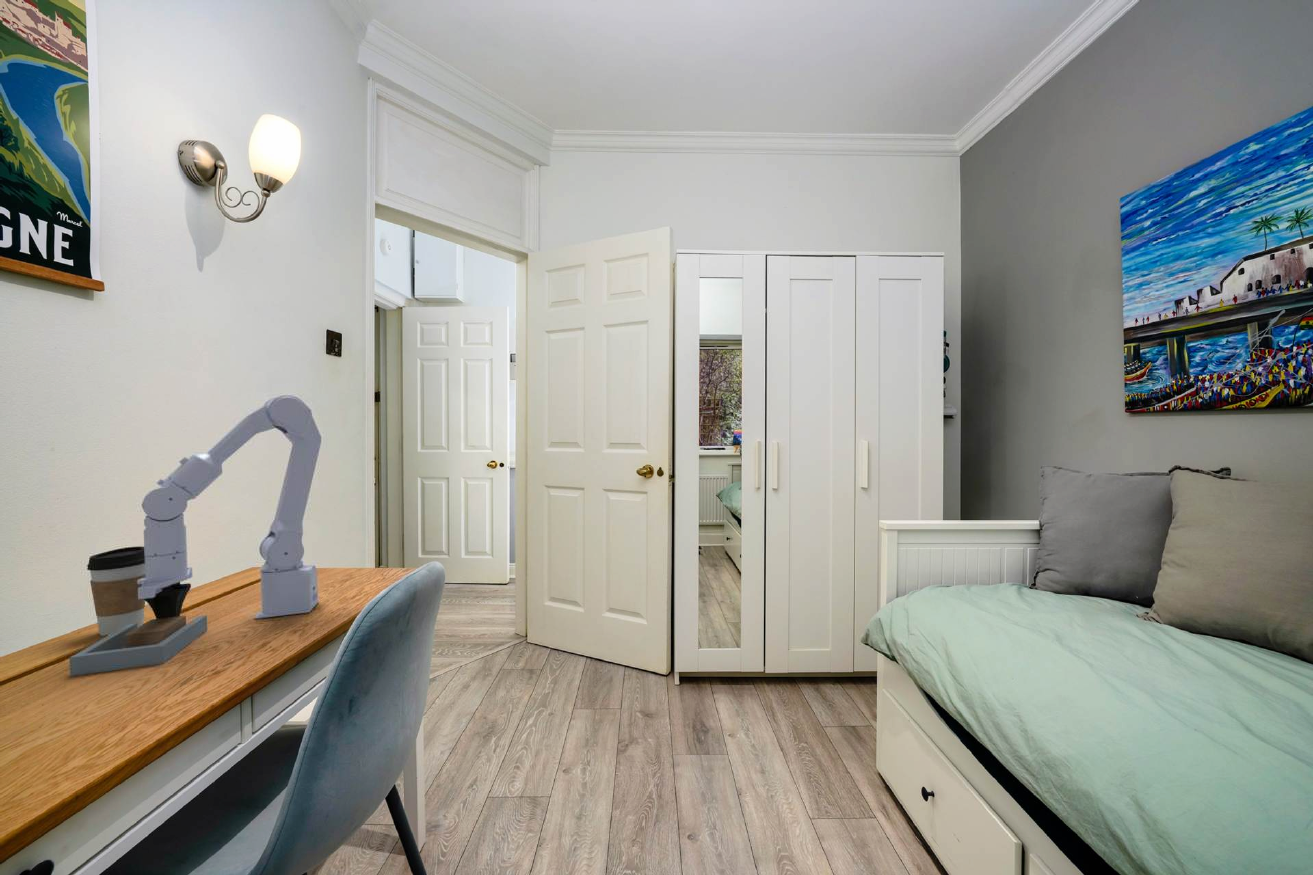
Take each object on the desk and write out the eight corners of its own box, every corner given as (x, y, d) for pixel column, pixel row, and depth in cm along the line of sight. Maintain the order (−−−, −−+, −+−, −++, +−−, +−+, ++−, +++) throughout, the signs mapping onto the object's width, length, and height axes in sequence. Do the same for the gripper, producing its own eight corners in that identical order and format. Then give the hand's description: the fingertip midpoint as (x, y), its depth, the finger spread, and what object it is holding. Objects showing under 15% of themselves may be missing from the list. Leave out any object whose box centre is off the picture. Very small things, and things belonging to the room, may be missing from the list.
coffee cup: (164, 622, 105) (161, 545, 105) (117, 638, 97) (114, 556, 97) (125, 621, 106) (123, 546, 106) (75, 638, 98) (72, 556, 98)
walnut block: (186, 634, 98) (185, 615, 98) (163, 651, 91) (162, 630, 91) (152, 638, 97) (151, 619, 97) (125, 655, 89) (125, 634, 89)
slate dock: (207, 629, 100) (206, 615, 100) (164, 663, 86) (163, 645, 86) (129, 639, 97) (128, 623, 97) (70, 675, 82) (69, 657, 82)
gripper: (159, 547, 104) (162, 617, 104) (113, 564, 90) (116, 644, 90) (204, 543, 106) (206, 612, 106) (166, 559, 93) (169, 638, 93)
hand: (168, 626), depth 98 cm, fingers closed
